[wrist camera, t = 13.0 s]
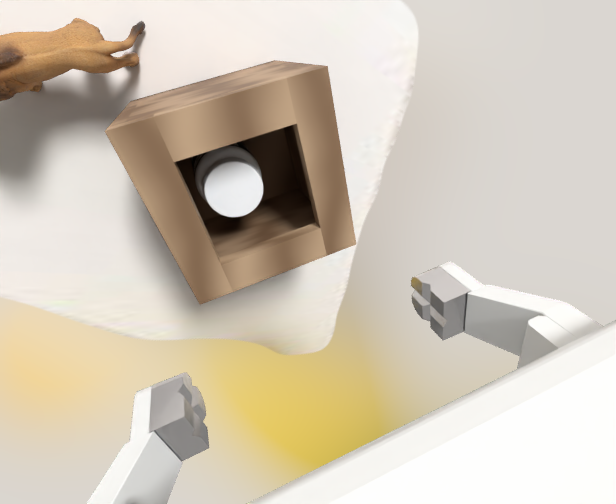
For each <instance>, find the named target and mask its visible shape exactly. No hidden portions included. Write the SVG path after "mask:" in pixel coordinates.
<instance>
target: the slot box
mask: <svg viewBox="0 0 616 504" xmlns="http://www.w3.org/2000/svg"><path fill="white" fill-rule="evenodd" d="M105 133H106V135H107V136H108V138H109V140H110V142H111V144H112V145H113V147H114V149H115V151H116V153H117V155H118V156H119V158H120V160H121V162H122V164H123V165H124V167H125V169H126V171H127V173H128V175H129V176H130V178H131V180H132V182H133V184H134V185H135V187H136V189H137V191H138V193H139V195H140V196H141V198H142V200H143V202H144V204H145V206H146V207H147V209H148V211H149V213H150V215H151V216H152V218H153V220H154V222H155V224H156V226H157V227H158V229H159V231H160V233H161V235H162V236H163V238H164V240H165V242H166V244H167V246H168V247H169V249H170V251H171V253H172V255H173V256H174V258H175V260H176V262H177V264H178V266H179V267H180V269H181V271H182V273H183V275H184V277H185V278H186V280H187V282H188V284H189V286H190V287H191V289H192V291H193V293H194V295H195V297H196V298H197V300H198V302H199V304H203V303H206V302H208V301H211V300H213V299H216V298H219V297H221V296H224V295H226V294H229V293H231V292H234V291H237V290H239V289H242V288H244V287H247V286H250V285H252V284H255V283H257V282H260V281H263V280H265V279H268V278H270V277H273V276H275V275H278V274H281V273H283V272H286V271H288V270H291V269H294V268H296V267H299V266H301V265H304V264H307V263H309V262H312V261H314V260H317V259H319V258H322V257H325V256H327V255H330V254H332V253H335V252H338V251H340V250H343V249H345V248H348V247H351V246H353V245H356V240H355V234H354V228H353V221H352V215H351V209H350V203H349V197H348V190H347V184H346V178H345V172H344V166H343V159H342V153H341V147H340V141H339V135H338V128H337V122H336V116H335V110H334V104H333V97H332V91H331V85H330V79H329V73H328V66H322V65H312V64H303V63H293V62H284V61H271V62H268V63H264V64H261V65H257V66H254V67H250V68H247V69H243V70H239V71H236V72H232V73H229V74H225V75H222V76H218V77H215V78H211V79H208V80H204V81H200V82H197V83H193V84H190V85H186V86H183V87H179V88H176V89H172V90H169V91H165V92H161V93H158V94H154V95H151V96H147V97H144V98H140V99H137V100H133V101H130V103H129V104H128V105H127V106H126V107H125V108H124V109H123V111H122V112H121V113H120V114H119V115H118V116H117V118H116V119H115V120H114V121H113V122H112V123H111V125H110V126H109V127H108V128H107V129H106V130H105ZM240 141H242V142H243V143H244V145H245V146H246V147H247V149H248V150H249V151H250V153H251V154H252V155H253V157H254V158H255V159H256V161H257V163H258V165H259V167H260V170H261V176H262V182H263V196H262V199H261V201H260V203H259V204H258V206H257V207H256V208H255V209H254V210H253V211H252V212H250V213H248V214H247V215H244V216H240V217H227V216H223V215H221V214H219V213H217V212H216V211H214V210H213V209H212V208H211V207H210V205H209V204H208V203H207V202H206V201H205V200H204V199H203V198H202V196H201V195H200V193H199V191H198V189H197V187H196V183H195V177H194V171H193V166H192V160H191V157H192V156H195V155H199V154H202V153H205V152H208V151H211V150H214V149H218V148H221V147H224V146H227V145H230V144H233V143H237V142H240Z"/></svg>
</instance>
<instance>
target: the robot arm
mask: <svg viewBox="0 0 616 504" xmlns="http://www.w3.org/2000/svg"><path fill="white" fill-rule="evenodd" d="M411 286H412V287H413V288H414V289H415V290H414V292H413V294H412V303H413V305H414V308H415V310H416V311H417V313H418V314H419V315H420V317H421V318H422V319H424V320H427V321H430V323H431V328H432V330H433V331H435V333H436V334H437V335H438V336H439V337H440V338H441V339H442V340H445V339H447V338H450V337H452V336H454V335H457V334H459V333H461V332H465V333H467V334H469V335H472V336H474V337H476V338H478V339H481V340H483V341H485V342H487V343H490V344H492V345H495V346H497V347H499V348H501V349H504V350H506V351H508V352H511V353H513V354H515V355H518V356H520V358H519V362H518V367H517V369H516V370H514V371H512V372H511V373H508V374H506V375H504V376H502V377H500V378H498V379H497V380H494V381H492V382H490V383H488V384H486V385H484V386H482V387H480V388H478V389H476V390H474V391H472V392H470V393H468V394H466V395H464V396H462V397H460V398H458V399H456V400H454V401H452V402H450V403H448V404H446V405H444V406H442V407H440V408H438V409H436V410H434V411H432V412H430V413H428V414H426V415H424V416H422V417H420V418H418V419H416V420H414V421H412V422H410V423H408V424H406V425H404V426H402V427H400V428H398V429H396V430H394V431H392V432H390V433H388V434H386V435H384V436H382V437H380V438H378V439H376V440H374V441H372V442H370V443H368V444H366V445H364V446H362V447H360V448H358V449H356V450H354V451H352V452H350V453H348V454H346V455H344V456H342V457H340V458H338V459H336V460H333V461H331V462H330V463H327V464H325V465H323V466H321V467H319V468H317V469H315V470H313V471H311V472H309V473H307V474H306V475H304V476H301V477H300V478H298V479H295V480H294V481H291V482H289V483H287V484H285V485H284V486H281V487H279V488H277V489H275V490H273V491H272V492H269V493H267V494H265V495H263V496H261V497H259V498H257V499H255V500H253V501H251V502H249V503H247V504H616V320H615V321H613V322H611V323H609V324H607V325H605V326H602V325H601V324H599V323H598V322H596V321H594V320H593V319H591V318H590V317H588V316H586V315H585V314H583V313H582V312H580V311H579V310H577V309H576V308H574V307H572V306H571V305H569V304H568V303H566V302H563V301H559V300H555V299H550V298H546V297H542V296H537V295H533V294H528V293H524V292H520V291H515V290H511V289H506V288H502V287H497V286H493V285H489V284H487V285H485V286H484V285H483V284H481V283H480V282H479V281H477V280H476V279H475V278H473V277H472V276H471V275H469V274H468V273H467V272H465V271H464V270H463V269H461V268H460V267H459V266H457V265H456V264H454V263H453V262H450V261H449V262H447V263H445V264H442V265H440V266H438V267H435V268H433V269H430V270H428V271H426V272H423V273H421V274H419V275H416V276H414V277H412V280H411ZM205 416H206V411H205V405H204V401H203V398H202V396H201V393H200V391H199V390H198V388H197V387H195V386H192V382H191V378H190V376H189V375H188V374H187V373H182V374H180V375H177V376H174V377H172V378H169V379H167V380H164V381H162V382H159V383H157V384H154V385H152V386H150V387H147V388H145V389H142V390H139V391H137V393H136V394H135V397H134V405H133V414H132V424H131V432H130V441H129V442H128V443H126V444H124V445H123V447H122V449H121V450H120V452H119V453H118V455H117V456H116V458H115V460H114V461H113V463H112V464H111V466H110V467H109V469H108V471H107V472H106V474H105V475H104V477H103V479H102V480H101V482H100V483H99V485H98V486H97V488H96V489H95V491H94V492H93V494H92V496H91V497H90V499H89V500H88V502H87V503H86V504H167V501H168V499H169V496H170V493H171V491H172V489H173V486H174V484H175V481H176V478H177V476H178V473H179V471H180V468H181V465H182V461H183V460H185V459H188V458H190V457H192V456H194V455H196V454H198V453H200V452H202V451H204V450H206V449H208V448H209V442H208V432H207V431H208V430H207V427H206V426H205V424H204V423H203V420H204V418H205Z"/></svg>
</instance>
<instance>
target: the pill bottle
mask: <svg viewBox="0 0 616 504" xmlns="http://www.w3.org/2000/svg"><path fill="white" fill-rule="evenodd" d="M191 160H192V166H193V171H194V177H195V183H196V187H197V189H198V191H199V193H200V195H201V196H202V198H203V199H204V200H205V201H206V202H207V203H208V204H209V205H210V207H211V208H212V209H213V210H214V211H216V212H217V213H219V214H221V215H223V216H227V217H240V216H244V215H247V214H248V213H250V212H252V211H253V210H254V209H255V208H256V207H257V206H258V204H259V203H260V201H261V199H262V196H263V182H262V176H261V170H260V167H259V165H258V163H257V161H256V159H255V158H254V157H253V155H252V154H251V153H250V151H249V150H248V149H247V147H246V146H245V145H244V143H243V142H242V141H240V142H237V143H233V144H230V145H227V146H224V147H221V148H218V149H214V150H211V151H208V152H205V153H202V154H199V155H195V156H192V157H191Z"/></svg>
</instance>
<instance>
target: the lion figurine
mask: <svg viewBox="0 0 616 504" xmlns="http://www.w3.org/2000/svg"><path fill="white" fill-rule="evenodd" d="M144 28H145V24H144V22H142V21H141V22H139V23H138V24H137V25H135V26H133V27H132V29H131V32H130V35H129V36H128V38H127V39H126V40H124V41H122V42H111V41H105V40H104V38H103V36H102V35H101V33H100V30H99V29H98V28H97V27H95V26H94V25H92V24H89V23H88V22H86V21H84V20H82V19H78V18H75V19H74V20H73V21H72V22H71V24H68V25H66V26H65V27H63V28H60V29H58V30H55V31H52V32H14V33H9V34H5V35H1V36H0V101H3V100H7V99H10V98H12V97H13V96H14V95H15V94H16V93H20V92H24V91H28V90H31V91H35V92H39V91H40V89H41V87H42V81H45V80H49V79H51V78H54V77H56V76H58V75H61V74H63V73H65V72H67V71H69V70H71V69H78V70H83V71H86V72H89V73H109V72H112V71H115V70H117V69H120V68H122V67H125V66H130V67H134V66H136V65H137V64H138V63H139V57H138V55H137V53H135V52H126V53H124V54H123V56H121V57H118V58H117V57H113V56H111V55H110V54H112V53H116V52H119V51H124V50H127V49H129V48H131V47H132V46H133V44H134V42H135V40H136V38H137V36H138V35H139V34H142V31H143V30H144Z"/></svg>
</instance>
